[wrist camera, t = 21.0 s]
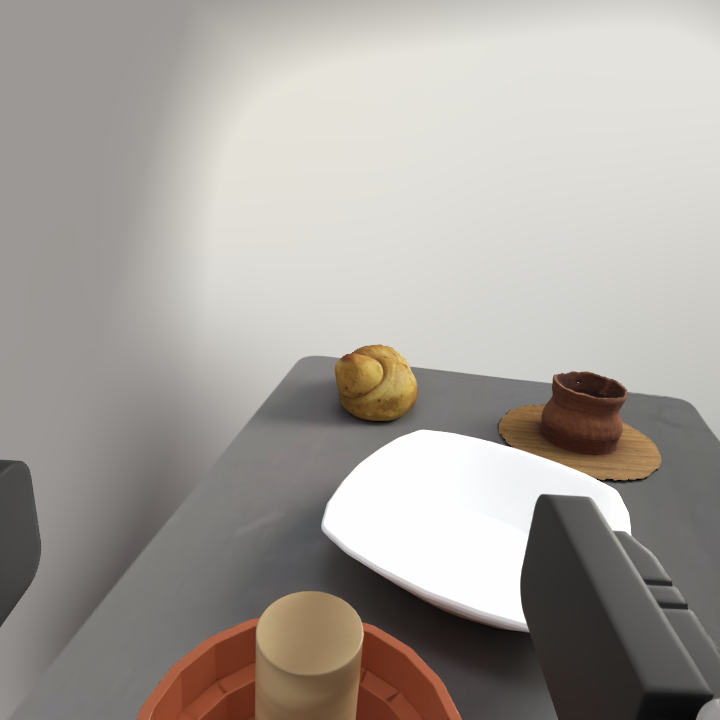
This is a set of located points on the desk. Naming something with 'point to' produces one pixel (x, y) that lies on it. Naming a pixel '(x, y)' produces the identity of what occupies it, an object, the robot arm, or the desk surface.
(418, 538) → the bowl
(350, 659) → the tan cylinder
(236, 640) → the clay bowl
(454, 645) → the desk surface
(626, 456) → the ceramic pot
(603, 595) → the robot arm
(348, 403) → the bread roll
